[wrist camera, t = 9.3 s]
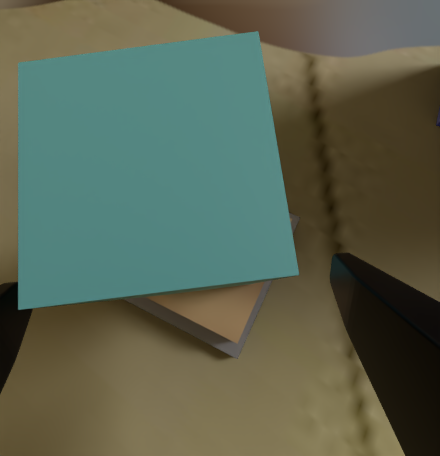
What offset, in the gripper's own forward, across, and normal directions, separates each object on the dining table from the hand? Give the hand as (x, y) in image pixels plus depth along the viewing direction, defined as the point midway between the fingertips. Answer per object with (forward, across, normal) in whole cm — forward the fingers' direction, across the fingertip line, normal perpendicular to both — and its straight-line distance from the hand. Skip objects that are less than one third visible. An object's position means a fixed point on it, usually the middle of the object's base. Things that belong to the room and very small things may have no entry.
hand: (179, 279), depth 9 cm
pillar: (+8, 0, +5) cm, 10 cm away
